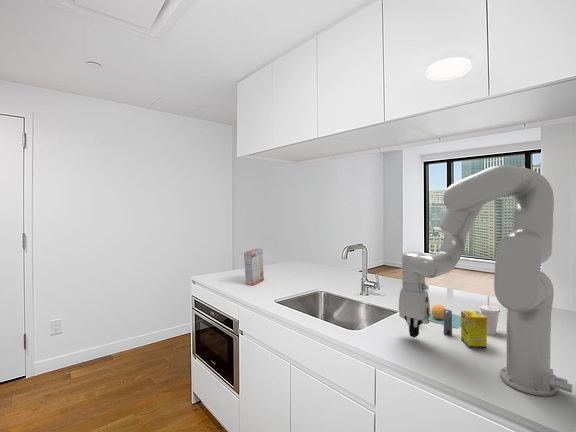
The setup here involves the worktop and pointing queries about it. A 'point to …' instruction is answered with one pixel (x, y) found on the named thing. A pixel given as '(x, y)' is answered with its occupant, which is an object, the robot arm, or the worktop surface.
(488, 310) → the smoothie
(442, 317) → the ball
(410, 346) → the worktop surface
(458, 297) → the worktop surface
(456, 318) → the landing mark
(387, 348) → the worktop surface
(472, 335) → the supplement box
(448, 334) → the post right
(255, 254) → the cracker box
